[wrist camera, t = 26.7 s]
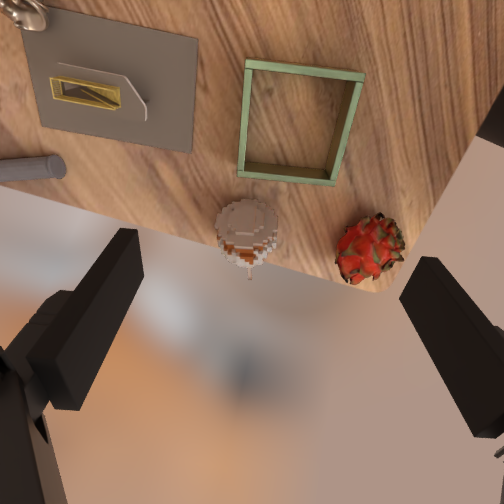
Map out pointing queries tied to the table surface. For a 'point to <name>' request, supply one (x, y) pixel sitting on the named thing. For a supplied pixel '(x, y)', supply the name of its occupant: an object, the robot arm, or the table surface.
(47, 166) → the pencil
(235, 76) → the table surface
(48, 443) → the robot arm
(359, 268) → the dragon fruit
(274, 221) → the caramel apple
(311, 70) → the olive square frame
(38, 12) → the ornament
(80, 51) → the platform
